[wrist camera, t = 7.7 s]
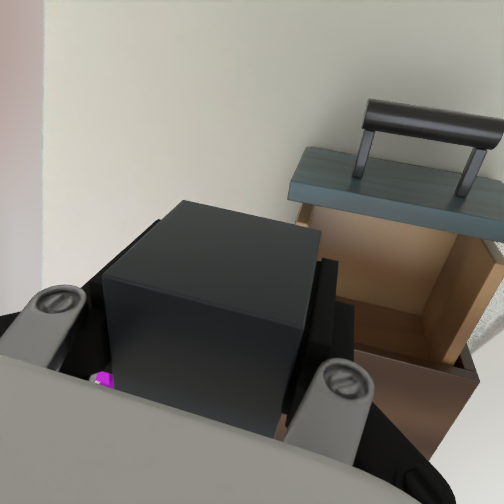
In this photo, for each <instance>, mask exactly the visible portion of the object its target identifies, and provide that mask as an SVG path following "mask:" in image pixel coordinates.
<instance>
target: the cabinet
mask: <svg viewBox="0 0 504 504" xmlns="http://www.w3.org/2000/svg"><path fill="white" fill-rule="evenodd" d="M354 362H355V363H356V364H358V365H360V366H361V367H362V368H363V369H364V370H366V371H367V372H368V374H369V375H370V377H371V378H372V380H373V383H374V386H375V389H374V396H373V399H372V401H373V403H374V404H375V405H376V406H377V407H378V408H379V409H380V410H381V411H382V412H383V413H384V414H385V415H386V416H387V417H388V419H389V420H390V421H391V422H392V423H393V424H394V425H395V426H396V427H397V428H398V429H399V430H400V431H401V432H402V433H403V435H404V436H405V437H406V438H407V439H408V440H409V441H410V442H411V443H412V444H413V445H414V446H415V447H416V448H417V449H418V451H419V452H420V453H421V454H422V455H423V456H424V457H425V458H426V459H427V460H428V461H429V460H430V458H431V457H432V455H433V454H434V452H435V451H436V449H437V447H438V446H439V444H440V443H441V441H442V440H443V438H444V437H445V435H446V434H447V432H448V431H449V429H450V427H451V426H452V424H453V423H454V421H455V419H456V418H457V417H458V415H459V413H460V412H461V411H462V409H463V407H464V406H465V404H466V403H467V401H468V399H469V398H470V397H471V395H472V394H473V392H474V390H475V389H476V387H477V386H478V384H479V383H480V380H479V377H478V374H477V373H476V368H475V366H474V363H473V360H472V357H471V354H470V351H469V349H468V346H467V343H466V344H465V346H464V348H463V349H462V351H461V353H460V355H459V356H458V358H457V360H456V362H455V363H454V365H453V366H449V365H445V364H441V363H437V362H433V361H429V360H426V359H422V358H418V357H414V356H410V355H406V354H402V353H398V352H394V351H390V350H386V349H382V348H378V347H374V346H370V345H366V344H362V343H358V342H354ZM286 417H287V415H285V414H281V418H280V421H279V425H278V429H277V433H276V436H275V440H278V441H282V439H283V437H284V435H285V433H286V431H287V427H285V422H286Z"/></svg>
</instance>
